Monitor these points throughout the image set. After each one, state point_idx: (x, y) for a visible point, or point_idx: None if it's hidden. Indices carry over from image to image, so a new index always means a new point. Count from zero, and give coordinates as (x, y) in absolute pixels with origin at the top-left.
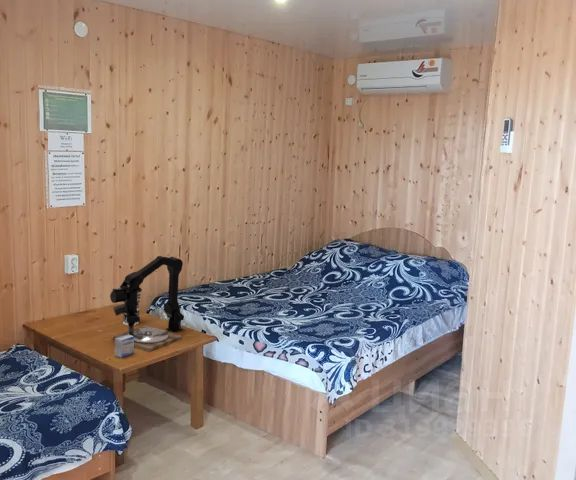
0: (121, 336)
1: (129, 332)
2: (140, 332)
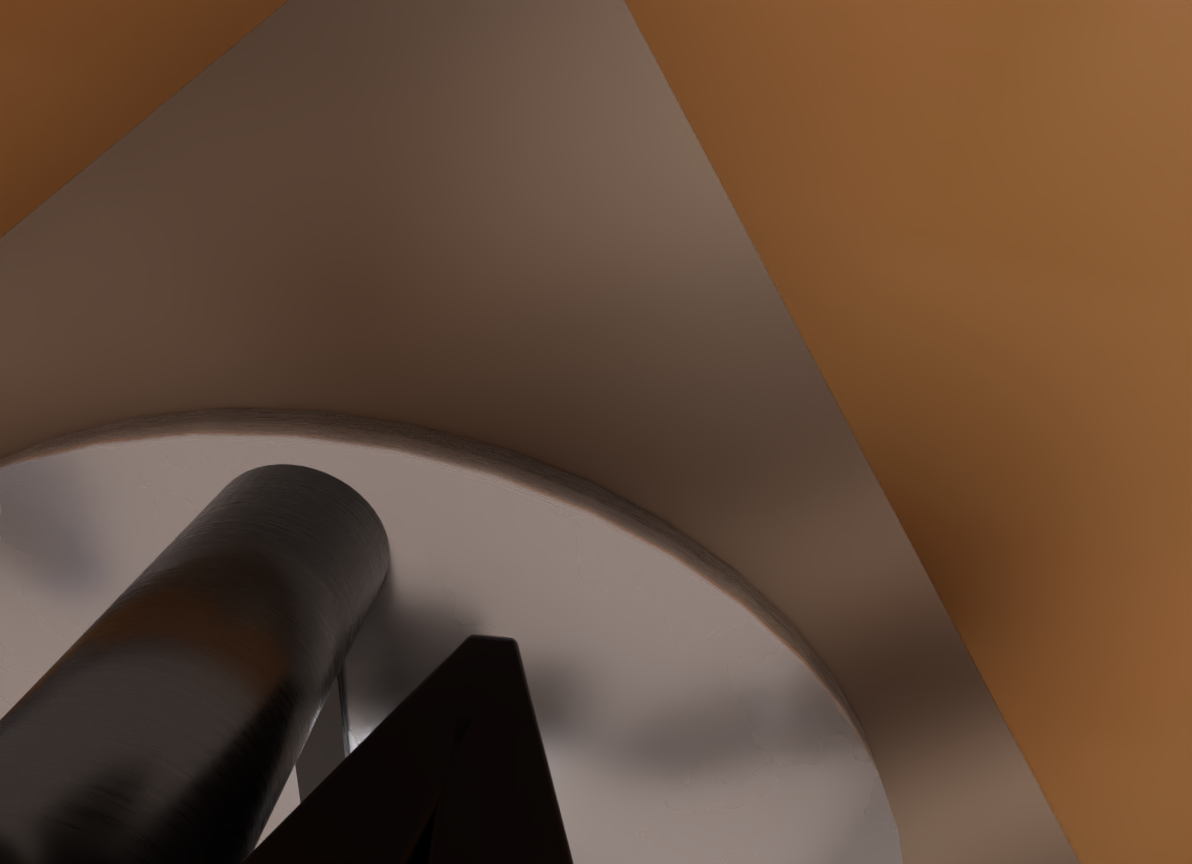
0: (475, 214)
1: (157, 563)
2: None
